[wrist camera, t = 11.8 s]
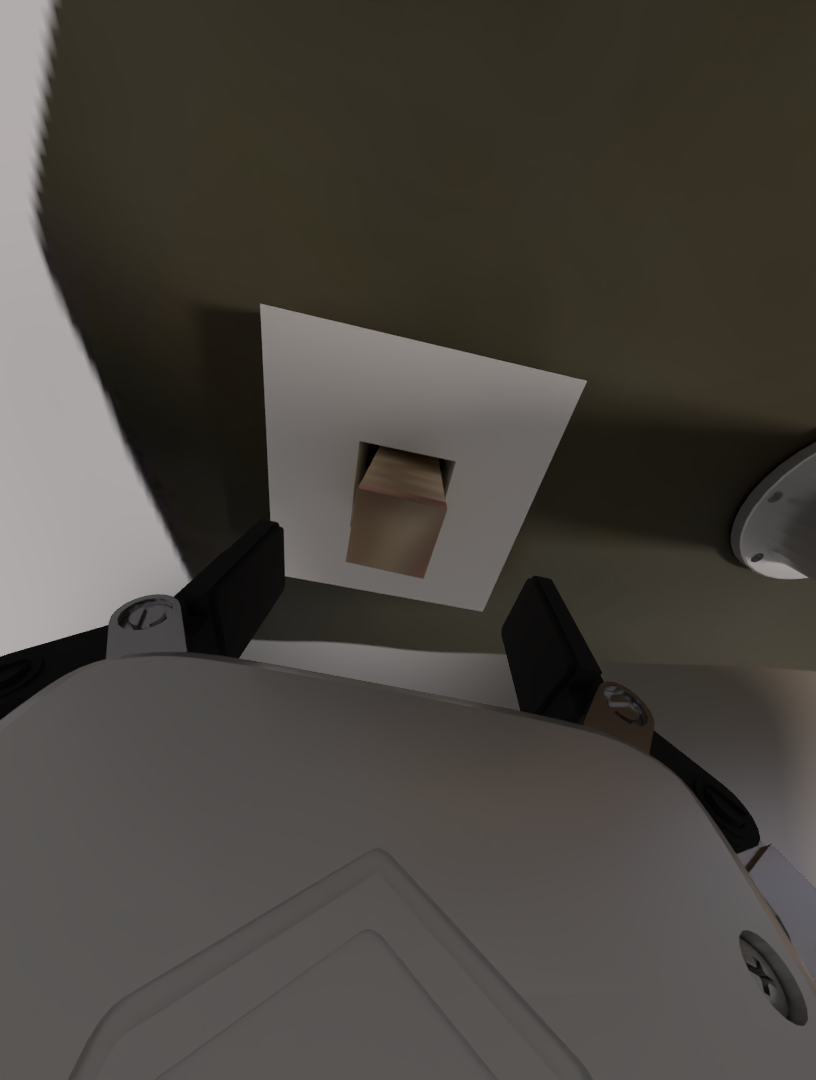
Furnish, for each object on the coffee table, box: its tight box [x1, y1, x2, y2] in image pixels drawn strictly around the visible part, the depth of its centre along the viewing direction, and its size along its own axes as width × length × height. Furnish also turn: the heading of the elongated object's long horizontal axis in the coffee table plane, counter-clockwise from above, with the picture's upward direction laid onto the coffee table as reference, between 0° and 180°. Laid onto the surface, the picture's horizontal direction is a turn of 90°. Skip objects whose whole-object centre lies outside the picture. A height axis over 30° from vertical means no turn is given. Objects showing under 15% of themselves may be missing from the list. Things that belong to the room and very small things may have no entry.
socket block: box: [260, 304, 587, 612], centre depth 20 cm, size 16×16×5 cm
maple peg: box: [346, 445, 447, 579], centre depth 18 cm, size 4×4×10 cm
